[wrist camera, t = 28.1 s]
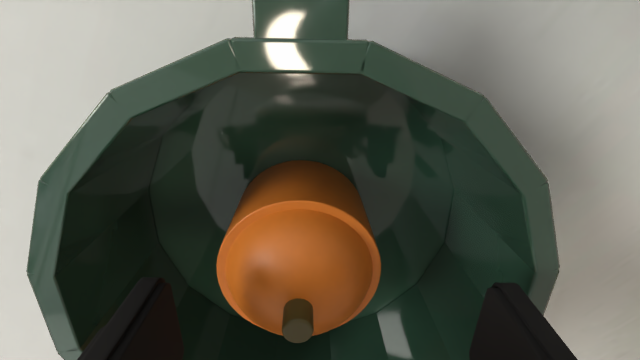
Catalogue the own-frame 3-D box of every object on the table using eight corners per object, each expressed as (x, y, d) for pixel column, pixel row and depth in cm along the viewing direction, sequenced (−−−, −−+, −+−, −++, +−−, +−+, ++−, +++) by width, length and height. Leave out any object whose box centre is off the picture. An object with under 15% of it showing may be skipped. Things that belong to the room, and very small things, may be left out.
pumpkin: (368, 160, 16) (412, 244, 9) (359, 270, 18) (389, 399, 12) (233, 159, 16) (178, 245, 9) (242, 270, 18) (205, 403, 11)
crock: (508, -28, 14) (691, -93, 7) (430, 360, 22) (481, 493, 15) (89, -40, 13) (-130, -122, 6) (174, 364, 21) (116, 505, 15)
